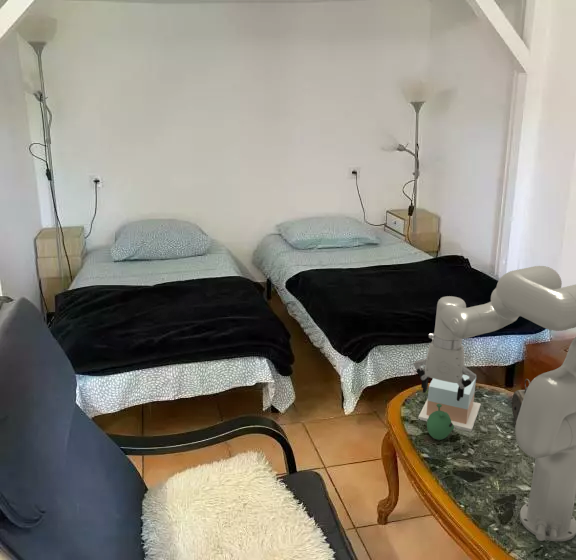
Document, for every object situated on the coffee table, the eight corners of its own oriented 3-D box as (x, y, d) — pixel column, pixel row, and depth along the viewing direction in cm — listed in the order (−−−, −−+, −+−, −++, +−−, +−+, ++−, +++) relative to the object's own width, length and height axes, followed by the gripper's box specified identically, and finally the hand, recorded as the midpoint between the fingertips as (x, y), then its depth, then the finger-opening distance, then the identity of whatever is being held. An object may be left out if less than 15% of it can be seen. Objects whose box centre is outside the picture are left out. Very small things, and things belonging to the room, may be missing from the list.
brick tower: (471, 431, 179) (475, 399, 175) (418, 419, 185) (420, 387, 182) (480, 406, 192) (483, 375, 188) (430, 395, 199) (432, 365, 195)
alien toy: (455, 444, 173) (458, 414, 169) (428, 444, 173) (430, 414, 169) (449, 431, 179) (452, 401, 176) (423, 430, 179) (426, 401, 176)
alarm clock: (536, 437, 176) (544, 388, 170) (517, 437, 176) (524, 388, 170) (524, 417, 186) (530, 370, 181) (506, 417, 186) (512, 370, 181)
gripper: (413, 339, 166) (408, 393, 172) (477, 352, 159) (470, 408, 165) (420, 329, 172) (415, 381, 178) (482, 341, 165) (475, 395, 171)
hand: (441, 394), depth 172 cm, fingers open, 9 cm apart
